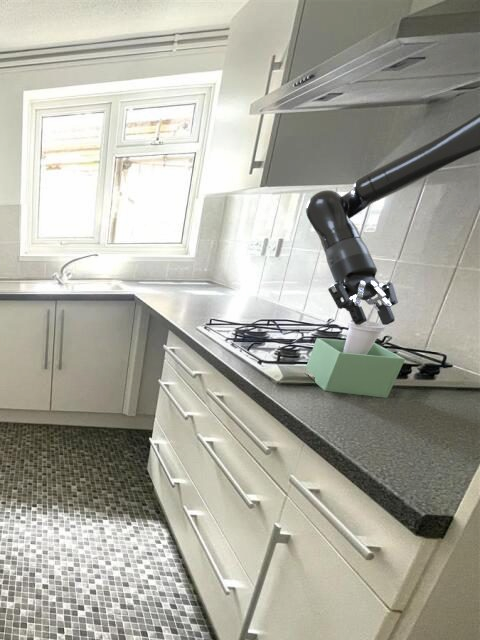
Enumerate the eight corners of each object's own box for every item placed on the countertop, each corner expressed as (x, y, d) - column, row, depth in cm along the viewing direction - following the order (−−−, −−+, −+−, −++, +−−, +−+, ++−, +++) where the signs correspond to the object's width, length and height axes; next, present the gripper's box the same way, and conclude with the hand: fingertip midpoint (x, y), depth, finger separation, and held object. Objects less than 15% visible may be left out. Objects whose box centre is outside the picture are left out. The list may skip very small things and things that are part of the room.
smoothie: (365, 360, 102) (389, 304, 96) (371, 369, 97) (397, 310, 91) (331, 355, 105) (353, 300, 99) (336, 363, 100) (359, 306, 94)
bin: (359, 378, 106) (374, 342, 103) (387, 398, 96) (405, 359, 92) (303, 372, 110) (316, 337, 106) (324, 390, 99) (339, 353, 95)
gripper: (334, 251, 97) (360, 314, 91) (393, 252, 98) (422, 314, 92) (308, 271, 104) (331, 331, 98) (363, 271, 105) (389, 330, 99)
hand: (375, 322), depth 95 cm, fingers closed on smoothie, 6 cm apart
